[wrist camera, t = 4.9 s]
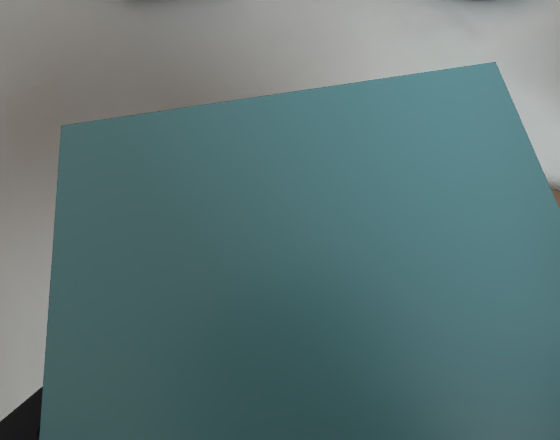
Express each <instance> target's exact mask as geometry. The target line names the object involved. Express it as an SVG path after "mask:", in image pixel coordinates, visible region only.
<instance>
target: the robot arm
mask: <svg viewBox="0 0 560 440" xmlns="http://www.w3.org/2000/svg"><path fill="white" fill-rule="evenodd" d="M42 394H43V387H41V388H40V389H39V390H38V391H37V392H35V393H34V394H33V395H32V396H31V397H30V398H28V399H27V400H26V401H25V402H24V403H22V404H21V405H20V406H19V407H17V408H16V409H15V410H14V411H13V412H11V413H10V414H9V415H8V416H7V417H5V418H4V419H3V420H2V421H0V440H39V436H40V422H41V408H42Z"/></svg>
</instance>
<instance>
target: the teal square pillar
mask: <svg viewBox="0 0 560 440" xmlns="http://www.w3.org/2000/svg"><path fill="white" fill-rule="evenodd" d="M39 440H560V209H559V207H558V204H557V202H556V200H555V198H554V195H553V193H552V191H551V188H550V186H549V184H548V182H547V179H546V177H545V175H544V172H543V170H542V168H541V165H540V163H539V161H538V159H537V156H536V154H535V152H534V149H533V147H532V145H531V142H530V140H529V138H528V136H527V133H526V131H525V129H524V126H523V124H522V122H521V119H520V117H519V115H518V113H517V110H516V108H515V106H514V103H513V101H512V99H511V96H510V94H509V92H508V90H507V87H506V85H505V83H504V80H503V78H502V76H501V74H500V71H499V69H498V67H497V64H496V62H492V63H485V64H478V65H472V66H465V67H458V68H451V69H444V70H438V71H431V72H424V73H417V74H410V75H403V76H397V77H390V78H383V79H376V80H369V81H363V82H356V83H349V84H342V85H335V86H328V87H322V88H315V89H308V90H301V91H294V92H288V93H281V94H274V95H267V96H260V97H253V98H247V99H240V100H233V101H226V102H219V103H213V104H206V105H199V106H192V107H185V108H178V109H172V110H165V111H158V112H151V113H144V114H138V115H131V116H124V117H117V118H110V119H104V120H97V121H90V122H83V123H76V124H69V125H63V126H61V139H60V153H59V167H58V181H57V195H56V209H55V224H54V238H53V252H52V266H51V280H50V295H49V309H48V323H47V337H46V351H45V365H44V380H43V394H42V408H41V422H40V436H39Z"/></svg>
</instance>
